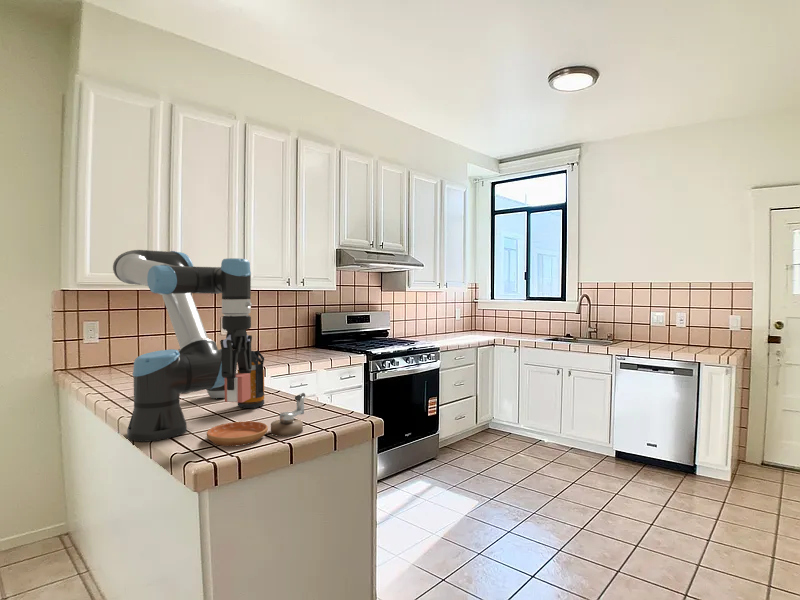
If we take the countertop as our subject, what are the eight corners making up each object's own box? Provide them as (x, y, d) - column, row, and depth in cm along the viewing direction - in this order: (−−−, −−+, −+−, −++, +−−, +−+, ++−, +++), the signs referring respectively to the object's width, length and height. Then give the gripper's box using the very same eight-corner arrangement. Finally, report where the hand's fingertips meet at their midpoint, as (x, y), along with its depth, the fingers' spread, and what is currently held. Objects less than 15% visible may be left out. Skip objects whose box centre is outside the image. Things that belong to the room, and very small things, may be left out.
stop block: (224, 402, 128) (224, 376, 128) (233, 397, 133) (233, 373, 133) (242, 402, 128) (241, 376, 127) (250, 398, 133) (250, 373, 132)
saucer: (197, 438, 131) (197, 428, 131) (252, 427, 142) (252, 417, 142) (220, 453, 120) (220, 441, 119) (278, 440, 130) (278, 429, 130)
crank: (289, 424, 135) (289, 402, 134) (277, 423, 136) (276, 401, 136) (309, 413, 146) (309, 393, 146) (297, 412, 147) (297, 392, 147)
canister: (254, 402, 173) (254, 347, 173) (273, 406, 166) (272, 350, 166) (232, 406, 166) (232, 350, 166) (250, 411, 159) (250, 352, 159)
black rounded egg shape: (227, 393, 188) (226, 355, 188) (239, 397, 181) (238, 357, 180) (201, 397, 181) (200, 357, 181) (212, 401, 174) (212, 360, 173)
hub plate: (265, 435, 133) (265, 426, 133) (278, 426, 142) (278, 417, 142) (296, 437, 132) (296, 427, 132) (307, 427, 141) (307, 418, 141)
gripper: (233, 316, 121) (234, 407, 121) (263, 313, 138) (264, 392, 139) (205, 316, 122) (206, 406, 122) (239, 313, 139) (240, 391, 140)
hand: (237, 398), depth 130 cm, fingers closed on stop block, 5 cm apart
